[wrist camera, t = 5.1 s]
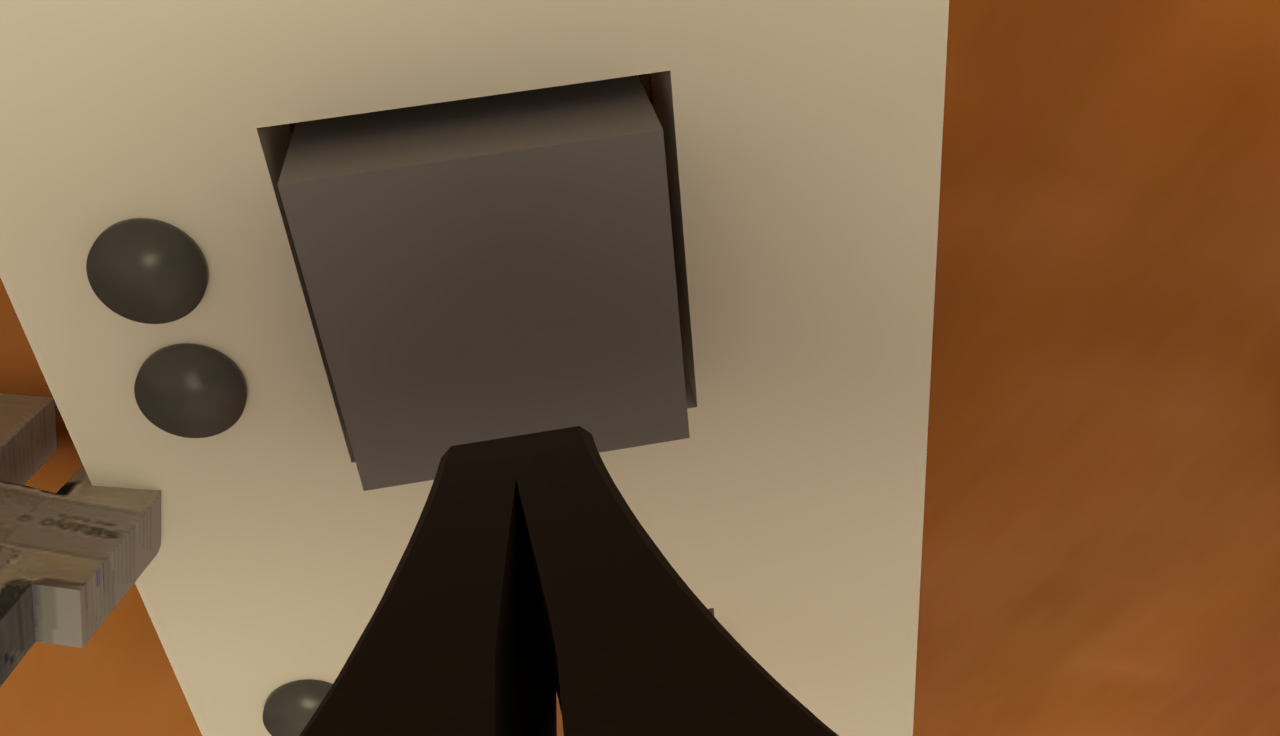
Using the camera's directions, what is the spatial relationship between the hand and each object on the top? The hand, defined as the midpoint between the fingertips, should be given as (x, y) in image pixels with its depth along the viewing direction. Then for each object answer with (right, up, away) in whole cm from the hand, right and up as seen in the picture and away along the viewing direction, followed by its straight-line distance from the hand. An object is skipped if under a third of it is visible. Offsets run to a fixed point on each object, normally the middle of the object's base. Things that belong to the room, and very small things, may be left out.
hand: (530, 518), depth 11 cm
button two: (-1, +4, +6) cm, 7 cm away
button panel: (0, -4, +11) cm, 11 cm away
